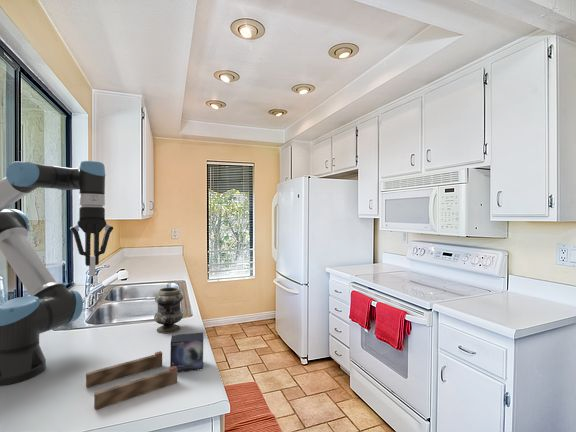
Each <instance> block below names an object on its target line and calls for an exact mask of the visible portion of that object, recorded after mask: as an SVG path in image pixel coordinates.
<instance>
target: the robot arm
mask: <svg viewBox="0 0 576 432" xmlns="http://www.w3.org/2000/svg"><path fill="white" fill-rule="evenodd" d="M5 171H6V172H5V177H3V178H1V179H0V251H1V253H2V254H3V256H4V258H5V259H6V261H7V263H8V264H9V265H10V267H11V268H12V269H13V271H14V273H15V274H16V276H17V277H18V279H19V280H20V282H21V284H22V285H23V286H24V288H25V290H26V291H27V293H28V294H29V295H28V296H22V297H16V298H12V299H9V300H6V301H3V302H1V303H0V386H6V385H11V384H16V383H19V382H23V381H26V380H29V379H30V378H33V377H36V376H38V375H39V374H41V373H42V372H43V371H44V370H45V369H46V368H47V361H46V360H47V359H46V356H45V355H44V353H43V351H42V348H41V346H40V334H42V333H45V332H49V331H51V330H54V329H58V328H61V327H63V326H67V325H69V324H70V323H74V322H75V321H77V320H78V319H79V318H80V317H81V315H82V313H83V309H84V299H83V297H82V295H81V293H79V291H78V290H74V289H70V290H69V289H67V287H66V285H65V284H64V283H62V282H57V281H56V279H55V278H54V276H53V275H52V273H51V272H50V271H49V269H48V268H47V266H46V264H45V263H44V262H43V259H41V257H40V256H39V254H38V253H37V251H36V250H35V248H34V247H33V246H32V244H31V242H30V241H29V239H28V236H29V231H30V223H29V222H30V221H29V218H28V216H27V215H26V214H25V213H24V212H23V211H21V210H19V209H15V208H14V209H13V208H9V207H10V206H11V205H13V204H14V203H16V202H17V201H19V200H20V199H22V198H23V197H25V196H27V195H29V194H31V193H32V192H33V191H35V190H37V189H38V188H39V189H40V188H41V189H42V188H43V189H53V190H54V189H56V190H60V191H69V190H71V191H73V190H79V195H78V197H79V199H78V203H79V206H80V207H79V211H78V212H79V215H78V217H79V218H78V221H77V224H75V225H73V226H70V228H69V230H70V231H71V232H72V234H73V236H74V240H75V243H76V247H77V251H78V254H79V255H80V256H84V260H85V266H87V267H88V275H89V276H90V277H91V276H95V275H96V266H99V264H100V262H99V261H100V259H99V258H100V256H101V255H104V254H105V252H106V250H107V246H108V241H109V238H110V234H111V232H112V231H113V229H114V226H111V225H109V224H108V223H107V221H106V219H105V218H106V212H105V211H106V208H105V207H104V206H105V205H106V199H105V198H106V197H105V194H106V193H105V189H106V168H105V164H104V163H102V162H100V161H94V160H82V161H80V162H79V165H78V167H76V168H75V167H74V168H73V167H63V166H56V165H49V164H42V163H35V162H30V161H19V160H18V161H13V162H11V163H9V164H8V167H7V168H6V169H5ZM80 229H81V231H82V232H83V233H84V238H85V240H84V248H83V244H82V240H81V236H80V234H79V231H80ZM103 229H104V231H105V232H104V234H103V237H102V241H101V245H100V233H101V232H102V231H103ZM92 234H93V255H91V236H92Z"/></svg>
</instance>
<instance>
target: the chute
mask: <svg viewBox="0 0 576 432" xmlns="http://www.w3.org/2000/svg"><path fill="white" fill-rule="evenodd" d="M160 367H163V352H162V351H160V350H159V351H157V352H154V354H151V355H148V356H144V357H141V358H136V359H133V360H129V361H125V362H122V363H118V364H114V365H111V366H106V367H103V368H99V369H95V370H91V371H88V372H86V373H85V387H86V389H89V388H93V387H96V386H99V385H102V384H106V383H109V382H113V381H117V380H119V379H122V378H127V377H130V376H134V375H136V374H140V373H143V372H147V371H150V370H155V369H158V368H160ZM177 383H178V372H177V367H176V366H173V367H170V366H169V368H168V369H167V370H163V371H159V372H157V373H154V374H151V375H147V376H145V377H139V378H137V379H134V380H130V381H128V382H127V381H126V382H124V383H121V384H117V385H114V386H111V387H107V388H104V389H101V390H98V391H95V392H94V393H93V394H94V395H93V396H94V397H93V400H94V403H93V405H94V406H93V407H94V410H95V411H96V410H99V409H103V408H106V407H108V406H111V405H113V404H117V403H120V402H124V401H127V400H129V399H132V398H135V397H138V396H142V395H143V394H147V393H149V392H153V391H155V390H160V389H162V388H165V387H168V386H171V385H173V384H174V385H175V384H177Z"/></svg>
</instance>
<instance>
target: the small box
mask: <svg viewBox="0 0 576 432" xmlns="http://www.w3.org/2000/svg"><path fill="white" fill-rule="evenodd" d="M169 365H170V366H169V368H170V367H173V366H176V367H177V373H182V371H184V372H190V371H189V370H193V371H200V369H203V368H204V333H203V332H194V333H193V332H192V333H181V334H180V333H178V334H172V335H171V338H170V363H169ZM198 369H199V370H198ZM203 370H204V369H203Z"/></svg>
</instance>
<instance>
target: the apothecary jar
mask: <svg viewBox="0 0 576 432" xmlns="http://www.w3.org/2000/svg"><path fill="white" fill-rule="evenodd" d="M183 300H184V294H183V293H181V292H180V288H179V287H177V286H176V287H175V286H173V287H172V286H169V287H168V286H167V287H162V288H160V289H159V290H158V294H156V295H155V297H154V302H155V303H157V309H156V310H157V312H156V313H155V314H154V316H153V320H154V321H155V322H156V323H157V324H159V325H161V326H158V327H157V329H156V332H157V333H160V334H170V333H171V332H172V333H175V331H176V332H178V331H179V330H180V329H181V327H180V325H178V324H177V323H178V322H180V321H181V320H182V319H183V316H184V313H183V312H182V311H181V302H182V301H183ZM177 330H178V331H177Z"/></svg>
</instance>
